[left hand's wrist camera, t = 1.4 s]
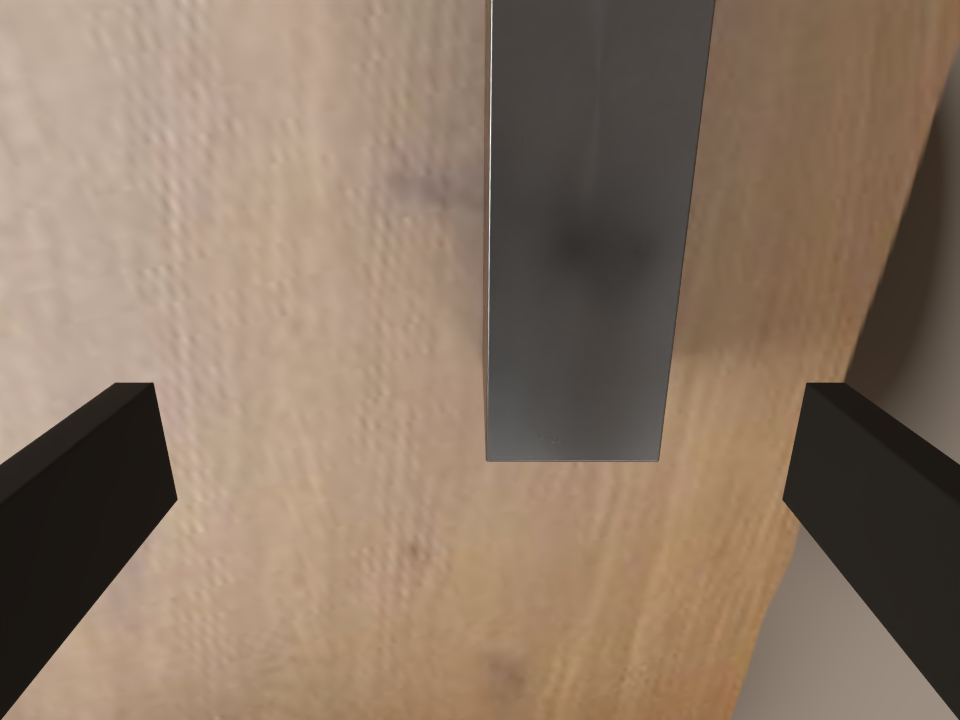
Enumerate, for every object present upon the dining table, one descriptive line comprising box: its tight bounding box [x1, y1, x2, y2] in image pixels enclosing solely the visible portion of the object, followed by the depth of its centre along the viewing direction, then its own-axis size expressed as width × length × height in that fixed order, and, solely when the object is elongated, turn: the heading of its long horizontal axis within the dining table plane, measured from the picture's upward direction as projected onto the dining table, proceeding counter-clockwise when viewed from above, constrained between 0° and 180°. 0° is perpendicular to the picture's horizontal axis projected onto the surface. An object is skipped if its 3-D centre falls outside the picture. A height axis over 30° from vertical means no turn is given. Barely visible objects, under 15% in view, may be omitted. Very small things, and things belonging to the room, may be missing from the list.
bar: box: [483, 0, 715, 462], centre depth 21 cm, size 24×6×9 cm, turn 0°
